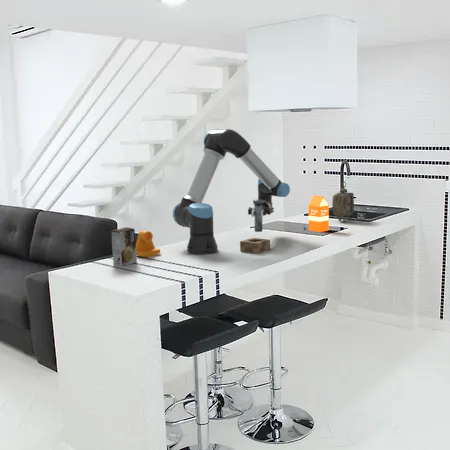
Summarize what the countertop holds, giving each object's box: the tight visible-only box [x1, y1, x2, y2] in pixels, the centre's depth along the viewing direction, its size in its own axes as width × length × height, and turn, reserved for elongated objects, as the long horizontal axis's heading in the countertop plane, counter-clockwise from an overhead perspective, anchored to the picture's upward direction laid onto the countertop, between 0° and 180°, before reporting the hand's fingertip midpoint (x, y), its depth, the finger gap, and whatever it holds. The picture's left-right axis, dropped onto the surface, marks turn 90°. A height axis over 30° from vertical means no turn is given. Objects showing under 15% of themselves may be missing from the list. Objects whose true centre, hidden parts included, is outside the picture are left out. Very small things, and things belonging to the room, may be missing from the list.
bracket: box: [135, 229, 161, 258], centre depth 283 cm, size 11×7×12 cm, turn 132°
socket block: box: [239, 237, 271, 255], centre depth 286 cm, size 10×10×5 cm
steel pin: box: [252, 199, 263, 233], centre depth 297 cm, size 5×5×16 cm
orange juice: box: [307, 194, 330, 233], centre depth 335 cm, size 8×9×20 cm
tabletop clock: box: [331, 180, 355, 223], centre depth 364 cm, size 14×9×25 cm, turn 148°
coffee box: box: [110, 227, 138, 267], centre depth 266 cm, size 9×6×16 cm
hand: (256, 214), depth 291 cm, fingers closed on steel pin, 4 cm apart
